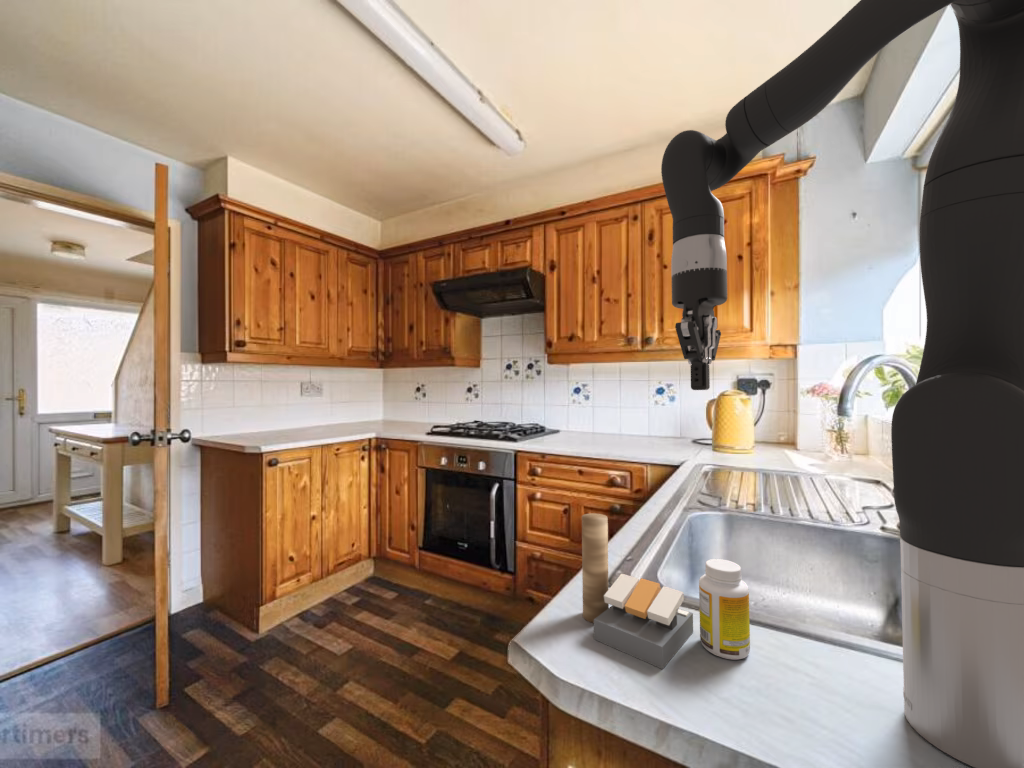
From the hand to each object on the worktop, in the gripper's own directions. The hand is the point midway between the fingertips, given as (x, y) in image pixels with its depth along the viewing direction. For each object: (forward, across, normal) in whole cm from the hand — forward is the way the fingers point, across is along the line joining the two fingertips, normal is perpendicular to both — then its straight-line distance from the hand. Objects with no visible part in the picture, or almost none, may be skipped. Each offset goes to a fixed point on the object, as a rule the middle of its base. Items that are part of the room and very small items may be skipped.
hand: (700, 389), depth 63 cm
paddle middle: (+28, -12, +4) cm, 30 cm away
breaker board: (+32, -12, +4) cm, 34 cm away
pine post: (+32, -12, +11) cm, 36 cm away
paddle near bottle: (+28, -12, +1) cm, 30 cm away
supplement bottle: (+32, -8, -5) cm, 34 cm away
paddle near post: (+28, -12, +7) cm, 31 cm away
